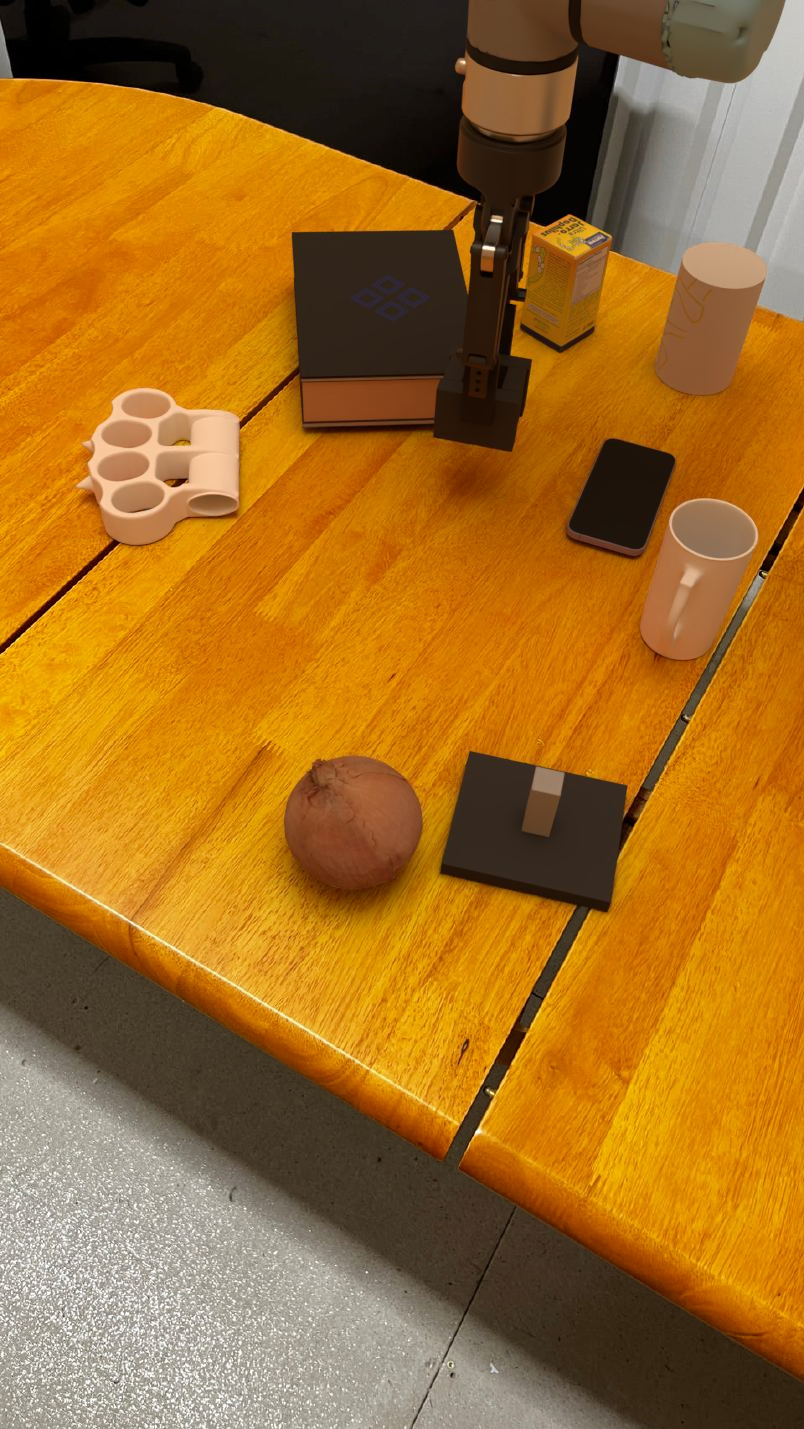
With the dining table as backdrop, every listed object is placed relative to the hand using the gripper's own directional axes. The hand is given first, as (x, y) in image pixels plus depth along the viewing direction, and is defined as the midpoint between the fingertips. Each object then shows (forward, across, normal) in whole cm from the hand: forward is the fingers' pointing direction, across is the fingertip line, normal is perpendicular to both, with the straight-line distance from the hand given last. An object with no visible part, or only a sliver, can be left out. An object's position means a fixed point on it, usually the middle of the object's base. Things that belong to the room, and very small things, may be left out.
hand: (484, 395), depth 95 cm
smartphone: (+11, -2, +14) cm, 17 cm away
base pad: (+11, +36, +12) cm, 39 cm away
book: (+10, -17, -14) cm, 24 cm away
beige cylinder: (+11, -24, +18) cm, 32 cm away
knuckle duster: (+10, +7, -28) cm, 31 cm away
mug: (+11, +15, +20) cm, 27 cm away
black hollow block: (+3, 0, 0) cm, 3 cm away
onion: (+11, +41, -1) cm, 42 cm away
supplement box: (+10, -27, +4) cm, 29 cm away
